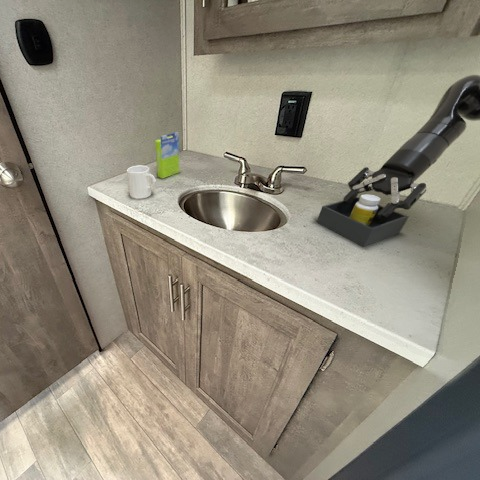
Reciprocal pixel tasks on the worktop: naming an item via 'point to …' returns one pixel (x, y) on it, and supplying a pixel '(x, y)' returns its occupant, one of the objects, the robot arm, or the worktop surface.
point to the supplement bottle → (365, 209)
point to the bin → (355, 231)
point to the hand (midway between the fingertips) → (361, 210)
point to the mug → (140, 181)
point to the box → (167, 155)
